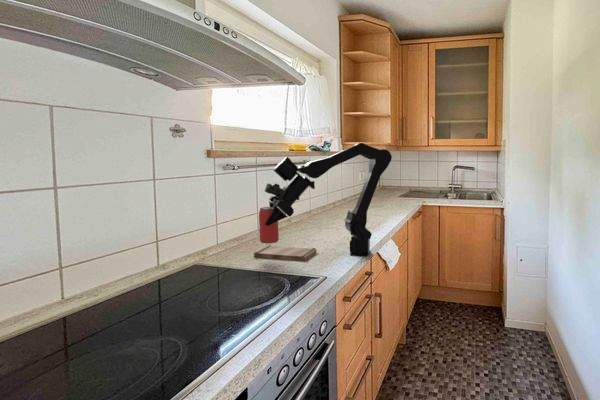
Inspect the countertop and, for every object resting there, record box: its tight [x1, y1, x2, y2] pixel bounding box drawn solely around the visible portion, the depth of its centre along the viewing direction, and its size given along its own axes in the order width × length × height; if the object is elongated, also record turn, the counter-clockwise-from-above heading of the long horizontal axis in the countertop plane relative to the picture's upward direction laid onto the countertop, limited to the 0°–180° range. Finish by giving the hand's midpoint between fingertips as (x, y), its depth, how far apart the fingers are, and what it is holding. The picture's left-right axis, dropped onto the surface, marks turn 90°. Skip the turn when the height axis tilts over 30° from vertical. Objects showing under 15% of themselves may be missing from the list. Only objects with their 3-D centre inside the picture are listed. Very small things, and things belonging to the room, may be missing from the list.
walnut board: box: [253, 244, 318, 262], centre depth 155 cm, size 20×12×2 cm, turn 69°
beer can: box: [258, 206, 280, 244], centre depth 147 cm, size 7×7×12 cm
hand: (264, 223), depth 147 cm, fingers closed on beer can, 7 cm apart
